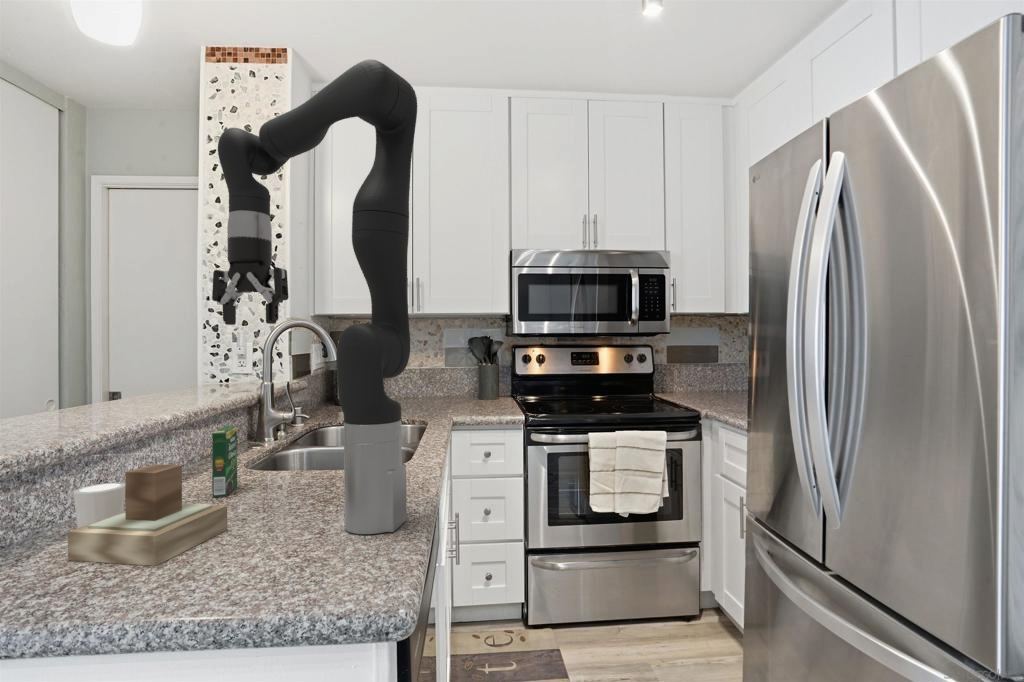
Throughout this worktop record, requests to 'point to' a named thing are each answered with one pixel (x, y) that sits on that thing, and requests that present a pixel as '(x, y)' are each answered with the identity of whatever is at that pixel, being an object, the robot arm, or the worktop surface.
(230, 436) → the coffee box
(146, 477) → the walnut block
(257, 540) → the worktop surface
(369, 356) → the robot arm
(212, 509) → the plinth
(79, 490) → the white cup
